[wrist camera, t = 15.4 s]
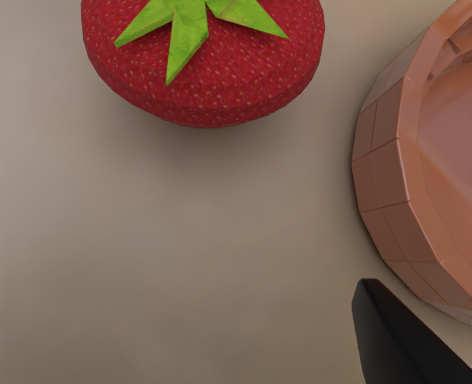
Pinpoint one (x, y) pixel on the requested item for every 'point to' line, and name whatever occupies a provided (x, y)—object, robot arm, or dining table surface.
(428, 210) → the pot
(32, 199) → the dining table surface
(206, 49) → the strawberry
